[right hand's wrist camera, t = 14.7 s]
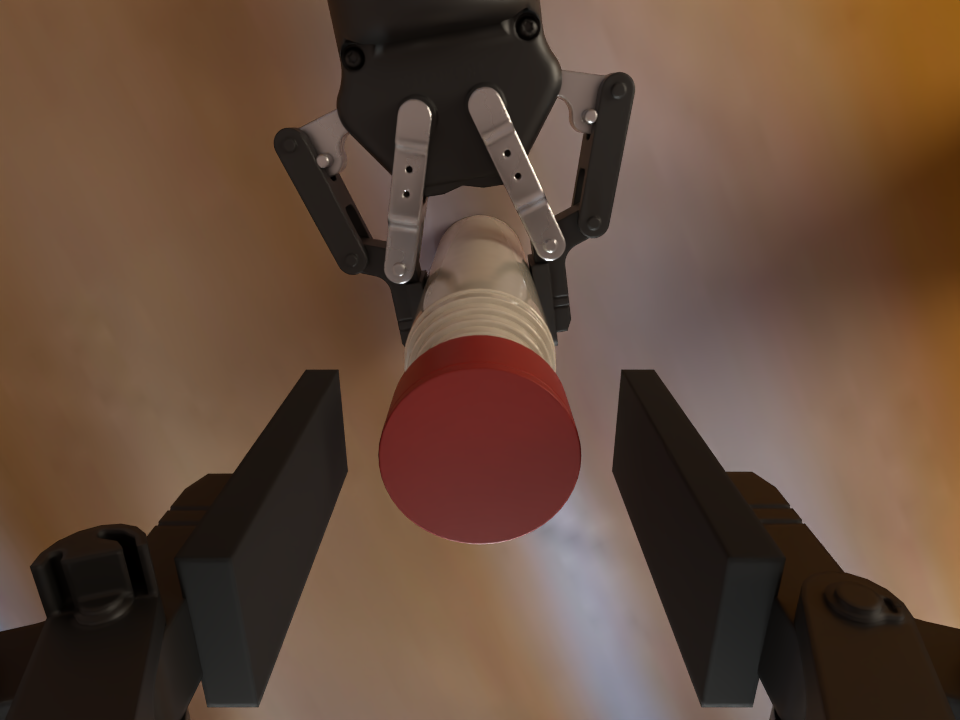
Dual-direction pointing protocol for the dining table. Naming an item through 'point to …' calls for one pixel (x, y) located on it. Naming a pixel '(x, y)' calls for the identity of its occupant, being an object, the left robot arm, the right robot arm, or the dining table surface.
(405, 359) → the bottle
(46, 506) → the dining table surface
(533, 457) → the cap
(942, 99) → the dining table surface
